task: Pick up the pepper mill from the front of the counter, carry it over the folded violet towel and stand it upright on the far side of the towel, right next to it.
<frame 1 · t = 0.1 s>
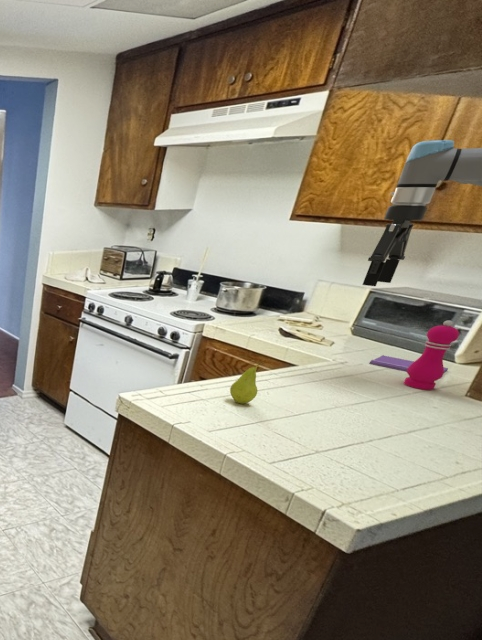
hand: (376, 283, 135), 29 cm above the counter, tool pointing down, fingers open, 13 cm apart
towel: (407, 367, 156), on the counter
fruit: (239, 403, 125), on the counter
pepper mill: (417, 386, 139), on the counter
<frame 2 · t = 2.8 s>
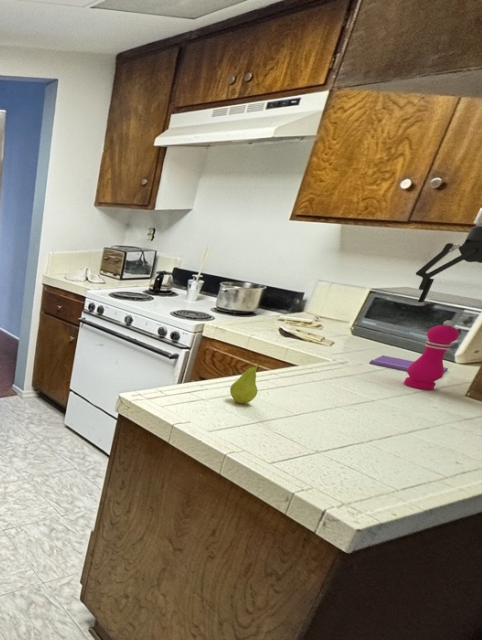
hand: (455, 306, 130), 24 cm above the counter, tool pointing down, fingers open, 13 cm apart
nothing on the counter moved.
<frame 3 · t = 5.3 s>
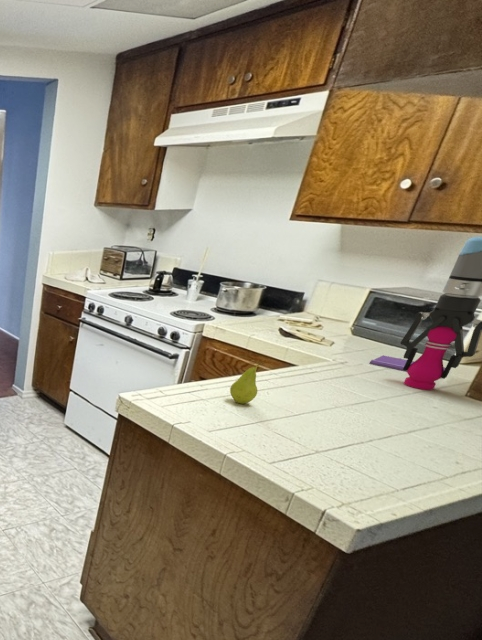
hand: (424, 373, 138), 4 cm above the counter, tool pointing down, fingers closed on pepper mill, 7 cm apart
pepper mill: (417, 386, 139), on the counter, touching gripper
everything else where it was.
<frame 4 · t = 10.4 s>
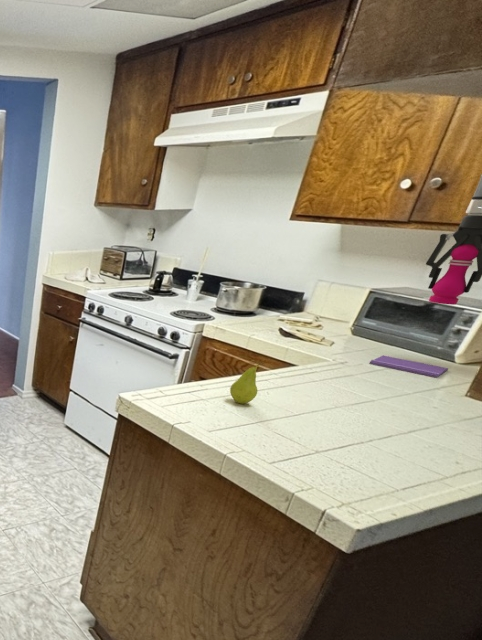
hand: (447, 290, 152), 25 cm above the counter, tool pointing down, fingers closed on pepper mill, 7 cm apart
pepper mill: (441, 303, 153), point 21 cm above the counter, touching gripper
everything else where it was.
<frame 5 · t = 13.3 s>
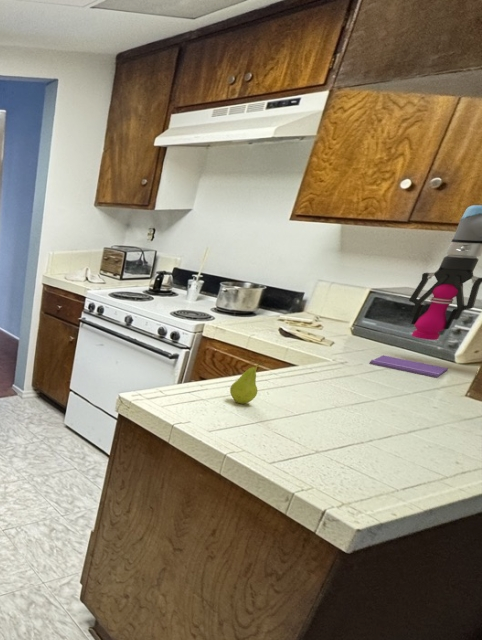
hand: (429, 325, 159), 12 cm above the counter, tool pointing down, fingers closed on pepper mill, 7 cm apart
pepper mill: (424, 338, 161), point 8 cm above the counter, touching gripper
everything else where it was.
when the fingers open (4 cm above the counter, at t = 15.6 s): pepper mill stays where it is, on the counter.
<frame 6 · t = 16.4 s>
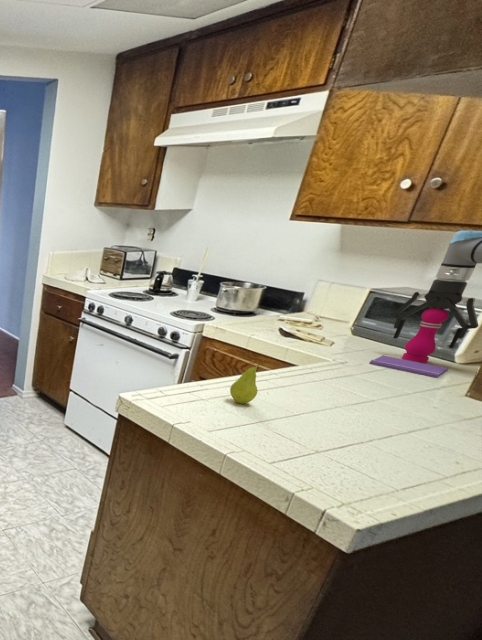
hand: (422, 342, 161), 6 cm above the counter, tool pointing down, fingers open, 13 cm apart
pepper mill: (413, 360, 164), on the counter
everything else where it was.
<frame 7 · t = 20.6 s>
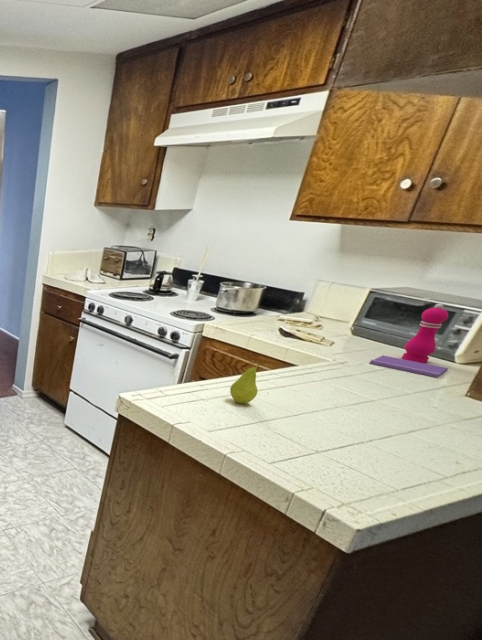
nothing on the counter moved.
at the end: pepper mill inside the target area on the counter beside the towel (1.1 cm from its centre), on the counter; pepper mill tilted 0°; the gripper is holding nothing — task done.
